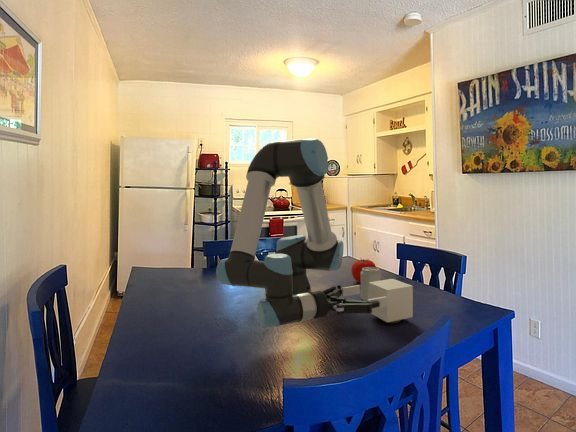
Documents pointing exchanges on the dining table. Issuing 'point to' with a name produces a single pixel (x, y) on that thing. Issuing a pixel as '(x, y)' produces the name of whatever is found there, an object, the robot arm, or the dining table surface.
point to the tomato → (360, 268)
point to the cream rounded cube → (392, 299)
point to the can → (368, 280)
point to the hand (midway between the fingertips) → (372, 294)
